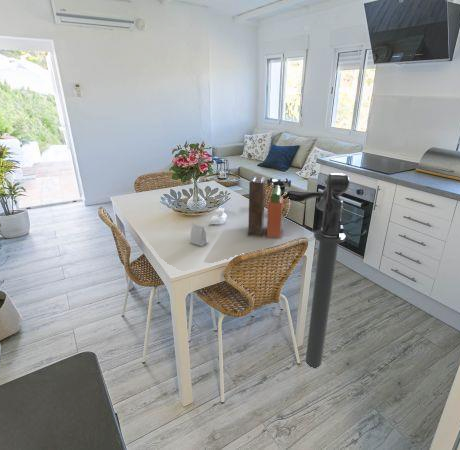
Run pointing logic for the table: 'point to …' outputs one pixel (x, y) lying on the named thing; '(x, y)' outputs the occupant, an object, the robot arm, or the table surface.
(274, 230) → the bottle holder
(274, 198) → the bottle
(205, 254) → the table surface
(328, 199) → the robot arm
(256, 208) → the post
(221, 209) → the bust
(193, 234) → the grey tapered block
